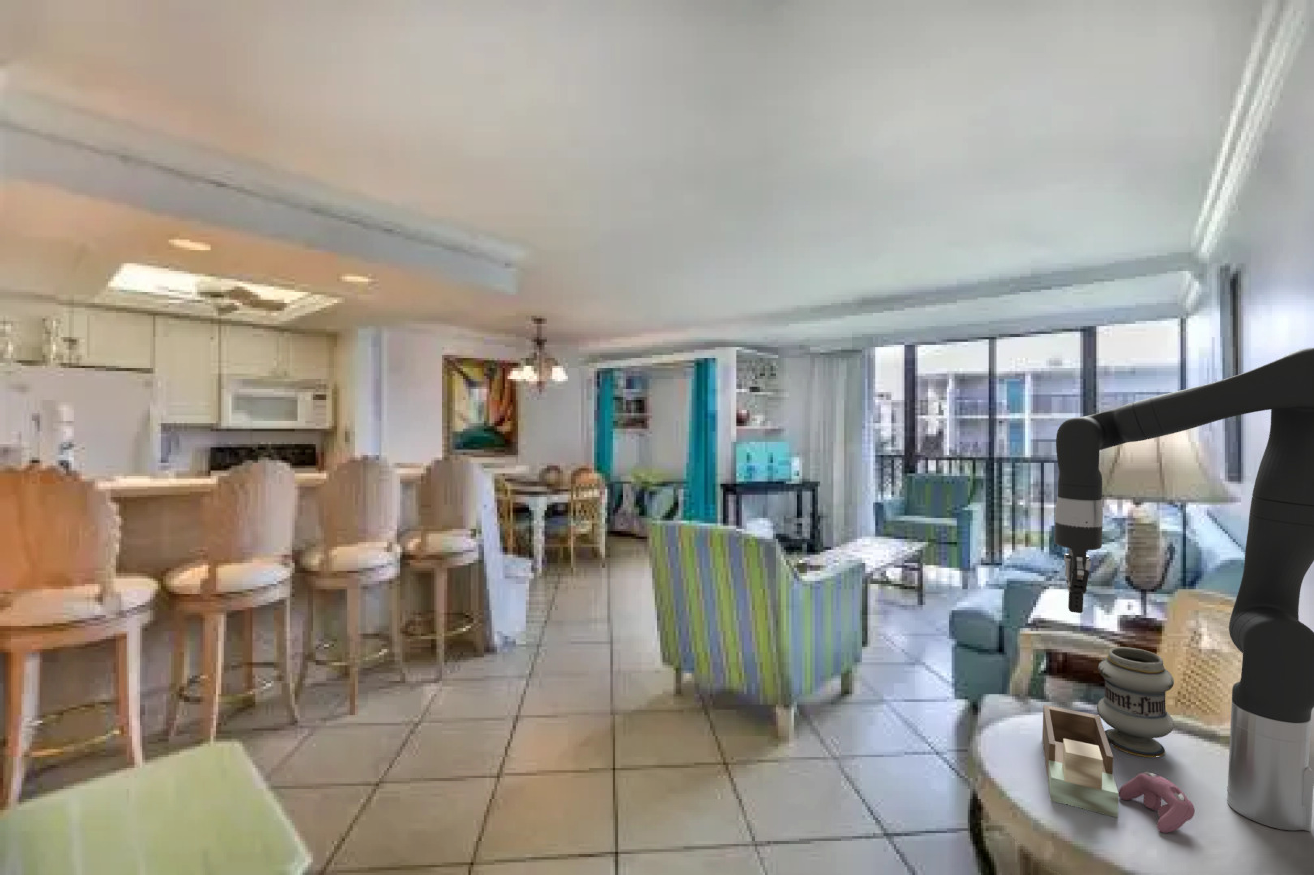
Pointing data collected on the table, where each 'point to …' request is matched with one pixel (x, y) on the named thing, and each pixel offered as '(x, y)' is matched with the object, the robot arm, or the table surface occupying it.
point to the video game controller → (1153, 791)
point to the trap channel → (1054, 730)
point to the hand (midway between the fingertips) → (1075, 611)
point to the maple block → (1082, 764)
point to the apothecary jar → (1135, 701)
